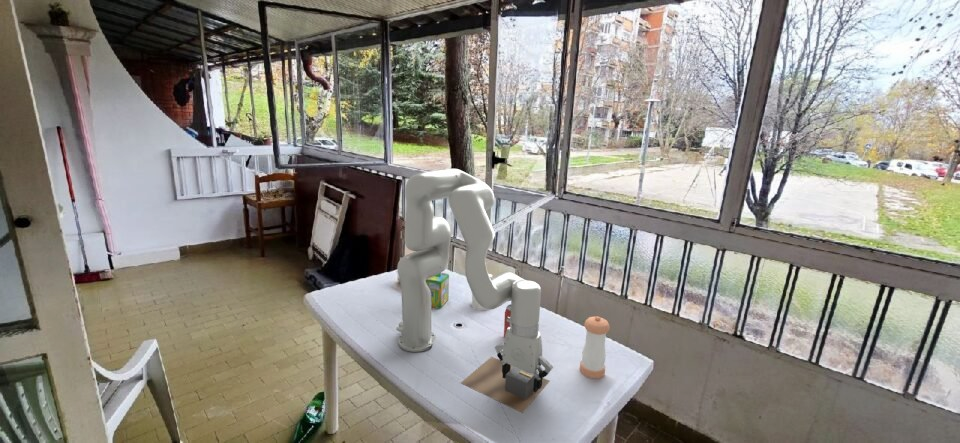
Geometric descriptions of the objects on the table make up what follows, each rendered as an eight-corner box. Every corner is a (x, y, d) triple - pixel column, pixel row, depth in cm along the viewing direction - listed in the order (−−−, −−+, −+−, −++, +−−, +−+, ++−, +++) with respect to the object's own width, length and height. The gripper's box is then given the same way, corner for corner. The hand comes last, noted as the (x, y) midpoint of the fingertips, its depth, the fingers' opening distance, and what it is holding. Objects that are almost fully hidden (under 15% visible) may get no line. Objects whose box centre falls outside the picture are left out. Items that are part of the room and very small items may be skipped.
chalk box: (419, 305, 164) (419, 271, 160) (428, 296, 172) (428, 263, 169) (441, 309, 161) (440, 274, 158) (449, 299, 170) (449, 265, 166)
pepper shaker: (589, 385, 118) (595, 325, 113) (574, 370, 124) (579, 313, 119) (609, 379, 121) (616, 320, 116) (593, 365, 127) (599, 309, 122)
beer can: (521, 345, 137) (523, 313, 134) (502, 343, 138) (503, 310, 135) (523, 335, 143) (525, 304, 140) (505, 333, 145) (506, 302, 142)
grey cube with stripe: (505, 390, 113) (505, 373, 111) (516, 378, 118) (517, 362, 116) (525, 399, 109) (526, 382, 108) (536, 387, 114) (537, 370, 113)
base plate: (460, 387, 116) (460, 382, 115) (491, 360, 128) (491, 356, 128) (522, 417, 105) (522, 412, 104) (549, 385, 117) (550, 380, 117)
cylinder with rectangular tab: (480, 298, 172) (481, 271, 168) (498, 304, 166) (499, 276, 163) (467, 305, 164) (467, 278, 161) (485, 312, 159) (486, 284, 156)
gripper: (489, 322, 110) (487, 377, 115) (547, 343, 101) (543, 402, 105) (504, 312, 116) (501, 364, 121) (560, 331, 107) (556, 387, 111)
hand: (521, 382), depth 113 cm, fingers open, 9 cm apart
